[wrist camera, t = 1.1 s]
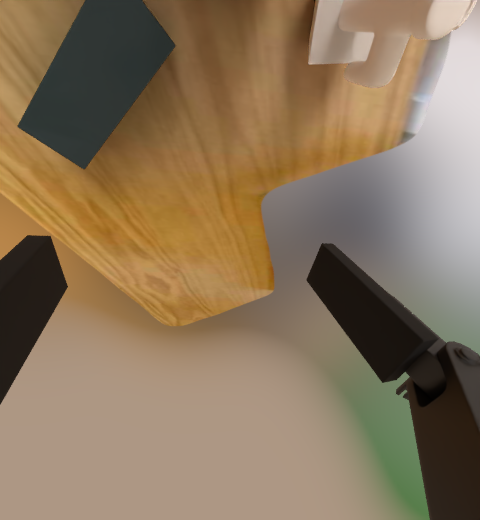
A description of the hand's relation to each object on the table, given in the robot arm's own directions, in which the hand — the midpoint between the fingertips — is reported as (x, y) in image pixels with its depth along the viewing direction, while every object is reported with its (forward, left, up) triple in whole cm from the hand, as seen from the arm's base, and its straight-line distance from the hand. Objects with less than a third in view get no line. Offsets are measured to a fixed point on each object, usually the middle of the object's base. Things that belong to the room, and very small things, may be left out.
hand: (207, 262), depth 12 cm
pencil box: (+3, -8, -24) cm, 25 cm away
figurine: (-19, +4, -24) cm, 31 cm away
